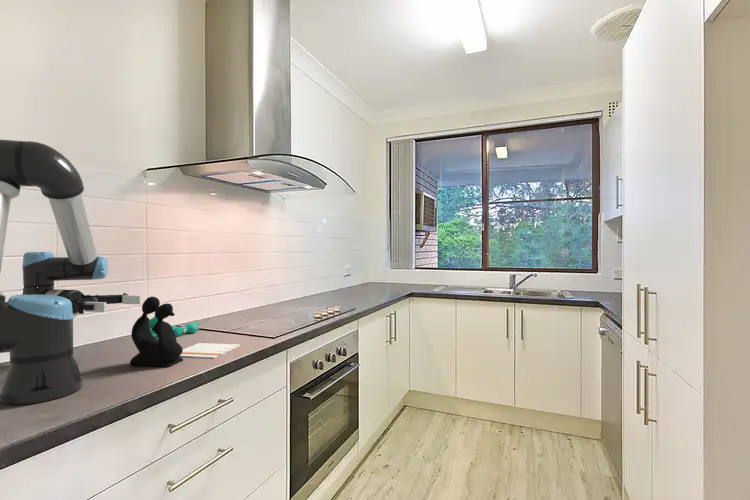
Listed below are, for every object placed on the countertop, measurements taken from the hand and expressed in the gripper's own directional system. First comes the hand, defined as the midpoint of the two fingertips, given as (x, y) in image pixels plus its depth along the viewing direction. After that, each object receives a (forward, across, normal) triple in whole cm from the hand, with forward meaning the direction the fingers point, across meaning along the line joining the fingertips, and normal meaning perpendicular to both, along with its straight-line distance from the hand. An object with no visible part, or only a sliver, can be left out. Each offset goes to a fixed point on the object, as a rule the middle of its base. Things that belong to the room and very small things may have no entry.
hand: (124, 303), depth 121 cm
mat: (+18, -14, -18) cm, 29 cm away
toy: (-13, -35, -19) cm, 42 cm away
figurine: (+12, +1, -18) cm, 21 cm away
